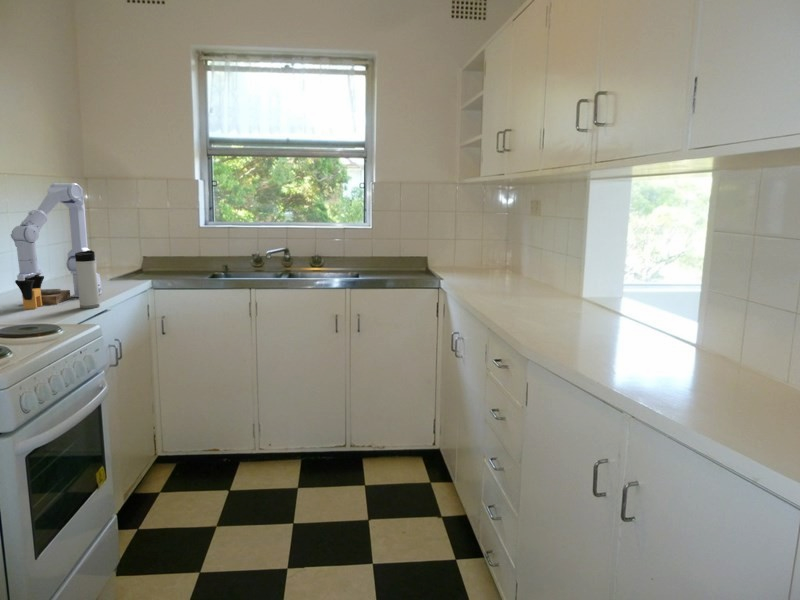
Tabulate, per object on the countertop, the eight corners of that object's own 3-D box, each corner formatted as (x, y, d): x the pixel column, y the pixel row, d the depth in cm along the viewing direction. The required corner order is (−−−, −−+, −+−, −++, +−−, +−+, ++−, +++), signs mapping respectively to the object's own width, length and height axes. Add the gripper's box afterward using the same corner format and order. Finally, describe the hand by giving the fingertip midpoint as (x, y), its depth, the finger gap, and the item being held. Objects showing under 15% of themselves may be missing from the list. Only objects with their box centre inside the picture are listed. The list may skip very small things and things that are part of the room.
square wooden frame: (70, 297, 237) (69, 285, 236) (56, 304, 223) (55, 291, 222) (39, 298, 235) (38, 286, 234) (24, 305, 221) (22, 292, 221)
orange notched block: (42, 305, 220) (40, 288, 219) (36, 308, 215) (34, 290, 214) (30, 306, 220) (28, 288, 219) (23, 309, 214) (21, 290, 213)
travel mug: (103, 305, 221) (98, 250, 217) (93, 308, 214) (87, 252, 211) (87, 305, 221) (82, 250, 218) (76, 308, 215) (70, 252, 211)
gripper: (31, 262, 208) (35, 301, 210) (48, 257, 222) (52, 294, 224) (8, 262, 207) (13, 302, 209) (27, 257, 221) (31, 294, 223)
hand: (32, 298), depth 217 cm, fingers open, 6 cm apart
